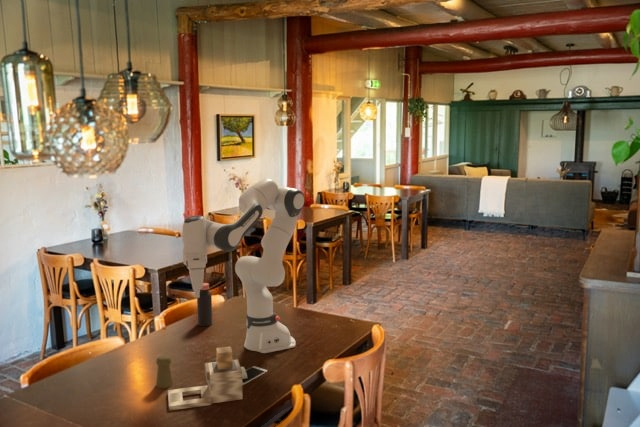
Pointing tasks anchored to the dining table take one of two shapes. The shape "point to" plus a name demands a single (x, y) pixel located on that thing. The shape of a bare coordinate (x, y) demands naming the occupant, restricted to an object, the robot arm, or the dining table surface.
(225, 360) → the block
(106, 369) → the dining table surface
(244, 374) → the cover
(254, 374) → the smartphone
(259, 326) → the robot arm
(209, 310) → the bottle
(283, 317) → the dining table surface
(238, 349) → the dining table surface
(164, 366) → the olive pepper mill
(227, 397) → the beige stepped box
